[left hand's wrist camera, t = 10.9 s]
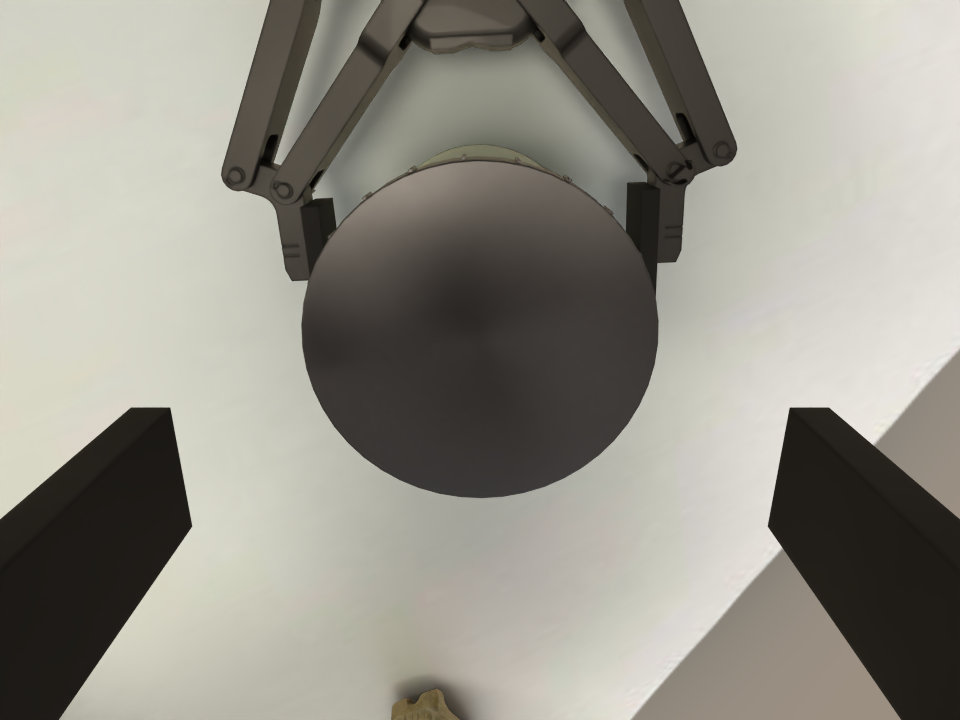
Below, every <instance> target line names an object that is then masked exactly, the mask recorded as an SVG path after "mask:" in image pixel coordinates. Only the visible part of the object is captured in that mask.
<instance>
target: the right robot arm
mask: <svg viewBox="0 0 960 720" xmlns="http://www.w3.org/2000/svg"><path fill="white" fill-rule="evenodd" d="M321 1H322V0H270V3H269V6H268V10H267V13H266V17H265V20H264V24H263V27H262V31H261V34H260V38H259V41H258V45H257V48H256V52H255V55H254V59H253V62H252V66H251V69H250V73H249V76H248V80H247V83H246V87H245V90H244V94H243V97H242V101H241V104H240V107H239V111H238V114H237V118H236V121H235V125H234V128H233V132H232V135H231V139H230V142H229V146H228V149H227V153H226V156H225V160H224V163H223V167H222V172H221V176H222V179H223V182H224V183H225V185H226V186H227V187H228V188H230V189H231V190H234V191H246V192H249V193H252V194H256V195H259V196H262V197H264V198H266V199H267V200H269V201H270V202H271V203H272V204H273V206H274V208H275V210H276V213H277V219H278V225H279V231H280V238H281V244H282V250H283V255H284V263H285V269H286V271H287V273H288V275H289V277H290V278H291V280H292V281H304V280H309V279H310V276H311V274H312V271H313V269H314V266H315V264H316V261H317V259H318V257H319V255H320V253H321V252H322V250H323V248H324V246H325V245H326V243H327V241H328V239H329V238H328V236H329V235H330V234H331V233H332V232H333V231H335V230H336V229H337V228H336V220H335V212H334V205H333V198H320V199H314V200H313V197H312V194H313V193H314V192H315V191H316V190H314V188H315V187H316V185H317V184H318V182H319V181H320V179H321V177H322V176H323V174H324V173H325V171H326V170H327V168H328V167H329V165H330V164H331V162H332V161H333V159H334V158H335V156H336V155H337V153H338V152H339V150H340V149H341V147H342V146H343V144H344V142H345V141H346V139H347V138H348V136H349V135H350V133H351V132H352V130H353V129H354V127H355V126H356V124H357V123H358V121H359V120H360V118H361V117H362V115H363V114H364V112H365V110H366V109H367V107H368V106H369V104H370V103H371V101H372V100H373V98H374V97H375V95H376V94H377V92H378V91H379V89H380V88H381V86H382V85H383V83H384V82H385V80H386V79H387V77H388V75H389V74H390V72H391V71H392V70H393V68H394V67H395V66H396V65H397V64H398V63H399V62H400V60H401V59H402V57H403V56H404V54H405V53H406V51H407V50H408V48H409V47H410V45H411V43H412V42H414V43H415V44H416V45H418V46H419V47H421V48H422V49H424V50H427V51H430V52H433V53H434V54H448V53H455V52H458V51H461V50H463V49H466V48H469V47H477V48H481V49H486V50H490V51H503V50H511V49H512V48H513V47H516V46H518V45H520V44H521V43H523V42H524V41H525V40H527V39H528V38H529V37H530V35H532V36H533V37H534V39H535V40H536V41H537V42H538V44H539V45H540V46H541V47H542V48H543V50H544V51H545V52H546V53H547V54H548V55H549V56H550V57H551V58H552V59H553V60H554V61H555V62H556V63H557V64H558V66H559V67H560V68H561V69H562V71H563V72H564V73H565V74H566V75H567V77H568V78H569V79H570V80H571V82H572V83H573V84H574V85H575V86H576V88H577V89H578V90H579V91H580V93H581V94H582V95H583V96H584V97H585V99H586V100H587V101H588V102H589V104H590V105H591V106H592V107H593V108H594V110H595V111H596V112H597V113H598V115H599V116H600V117H601V118H602V120H603V121H604V122H605V123H606V124H607V126H608V127H609V128H610V129H611V131H612V132H613V133H614V134H615V135H616V137H617V138H618V139H619V140H620V142H621V143H622V144H623V145H624V146H625V148H626V149H627V150H628V151H629V153H630V154H631V155H632V156H633V157H634V159H635V160H636V161H637V162H638V164H639V165H640V166H641V167H642V168H643V170H644V171H645V172H646V173H647V183H646V182H633V183H627V212H626V232H627V234H628V235H629V236H630V238H631V240H632V241H633V243H634V245H635V246H636V248H637V250H638V251H639V252H640V253H641V254H642V259H643V262H644V264H645V266H646V269H647V271H648V273H649V276H650V279H651V283H652V286H653V290H654V294H655V298H656V278H657V263H667V262H676V261H677V258H678V256H679V254H680V252H681V247H682V230H683V227H682V225H683V213H684V197H685V189H686V186H687V185H688V184H690V183H691V181H692V180H693V179H694V176H695V175H697V174H699V173H702V172H704V171H706V170H709V169H711V168H714V167H716V166H724V165H727V164H729V163H730V162H731V161H732V160H733V159H734V157H735V155H736V152H737V145H736V141H735V139H734V136H733V134H732V131H731V129H730V126H729V124H728V121H727V119H726V116H725V114H724V111H723V109H722V106H721V104H720V101H719V99H718V96H717V94H716V91H715V89H714V86H713V84H712V81H711V79H710V76H709V74H708V71H707V69H706V66H705V64H704V62H703V59H702V57H701V54H700V52H699V49H698V47H697V44H696V42H695V39H694V37H693V34H692V32H691V29H690V27H689V24H688V22H687V19H686V17H685V14H684V12H683V9H682V7H681V4H680V2H679V0H623V1H624V3H625V6H626V9H627V11H628V13H629V16H630V18H631V20H632V23H633V25H634V27H635V30H636V32H637V34H638V37H639V39H640V41H641V44H642V46H643V48H644V51H645V53H646V55H647V58H648V60H649V62H650V65H651V67H652V69H653V72H654V74H655V76H656V79H657V81H658V83H659V86H660V88H661V90H662V93H663V95H664V97H665V100H666V102H667V104H668V107H669V109H670V111H671V114H672V116H673V118H674V121H675V123H676V125H677V128H678V130H679V132H680V135H681V137H682V139H683V142H681V143H679V144H677V145H675V143H674V142H673V141H672V140H671V138H670V137H669V136H668V135H667V133H666V132H665V131H664V130H663V128H662V127H661V126H660V124H659V123H658V122H657V121H656V119H655V118H654V117H653V116H652V114H651V113H650V112H649V111H648V109H647V108H646V107H645V106H644V104H643V103H642V102H641V100H640V99H639V98H638V97H637V95H636V94H635V93H634V92H633V90H632V89H631V88H630V87H629V85H628V84H627V83H626V81H625V80H624V79H623V78H622V76H621V75H620V74H619V73H618V71H617V70H616V69H615V68H614V66H613V65H612V64H611V62H610V61H609V60H608V59H607V57H606V56H605V55H604V54H603V52H602V51H601V50H600V49H599V47H598V46H597V45H596V43H595V42H594V41H593V40H592V38H591V37H590V36H589V35H588V33H587V32H586V30H585V28H584V25H583V24H582V22H581V21H580V19H579V18H578V16H577V15H576V14H575V13H574V11H573V10H572V9H571V8H570V6H569V5H568V4H567V2H566V1H565V0H381V3H380V4H379V6H378V7H377V9H376V11H375V12H374V14H373V15H372V17H371V19H370V20H369V22H368V23H367V25H366V27H365V28H364V30H363V31H362V33H361V35H360V37H359V41H358V44H357V46H356V47H355V49H354V51H353V52H352V54H351V55H350V57H349V59H348V60H347V62H346V63H345V65H344V66H343V68H342V70H341V71H340V73H339V74H338V76H337V78H336V79H335V81H334V82H333V84H332V85H331V87H330V89H329V90H328V92H327V93H326V95H325V97H324V98H323V100H322V101H321V103H320V104H319V106H318V108H317V109H316V111H315V112H314V114H313V116H312V117H311V119H310V120H309V122H308V123H307V125H306V127H305V128H304V130H303V131H302V133H301V135H300V136H299V138H298V139H297V141H296V142H295V144H294V146H293V147H292V149H291V150H290V152H289V154H288V155H287V157H286V158H285V160H284V161H283V163H282V165H278V164H275V163H274V160H275V157H276V154H277V150H278V147H279V144H280V141H281V138H282V134H283V131H284V128H285V125H286V122H287V118H288V115H289V112H290V109H291V106H292V102H293V99H294V96H295V93H296V90H297V87H298V83H299V80H300V77H301V74H302V71H303V67H304V64H305V61H306V58H307V55H308V51H309V48H310V45H311V42H312V39H313V35H314V32H315V29H316V26H317V22H318V18H319V14H320V8H321Z"/></svg>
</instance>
